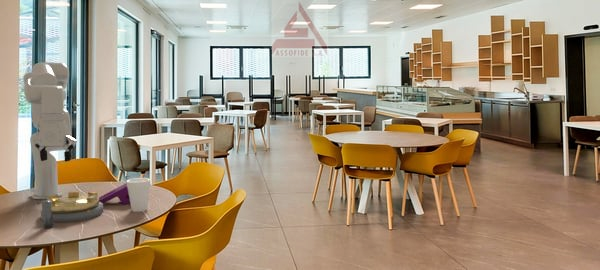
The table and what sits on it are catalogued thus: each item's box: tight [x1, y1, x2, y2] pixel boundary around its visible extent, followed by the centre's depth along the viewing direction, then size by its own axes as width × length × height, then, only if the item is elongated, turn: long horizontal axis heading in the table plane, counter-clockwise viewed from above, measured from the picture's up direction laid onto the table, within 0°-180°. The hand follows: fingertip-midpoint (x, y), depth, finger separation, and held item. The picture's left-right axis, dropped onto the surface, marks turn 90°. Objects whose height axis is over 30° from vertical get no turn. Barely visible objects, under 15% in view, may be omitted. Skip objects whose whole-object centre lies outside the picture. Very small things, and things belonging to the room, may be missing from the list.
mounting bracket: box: [98, 182, 131, 206], centre depth 204 cm, size 9×8×18 cm
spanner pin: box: [41, 199, 54, 230], centre depth 167 cm, size 3×3×10 cm
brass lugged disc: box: [44, 190, 99, 214], centre depth 184 cm, size 20×20×4 cm
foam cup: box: [126, 177, 151, 213], centre depth 191 cm, size 10×9×13 cm
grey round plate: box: [40, 202, 104, 224], centre depth 185 cm, size 23×23×3 cm
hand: (56, 160), depth 176 cm, fingers open, 9 cm apart
